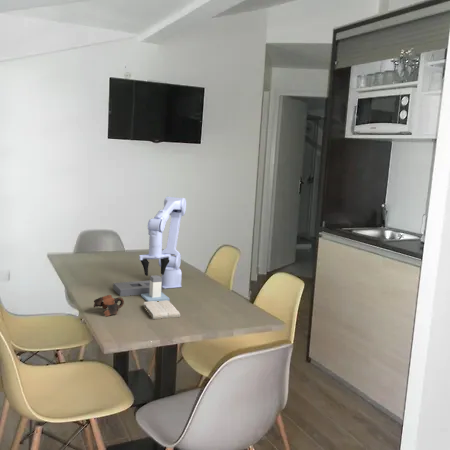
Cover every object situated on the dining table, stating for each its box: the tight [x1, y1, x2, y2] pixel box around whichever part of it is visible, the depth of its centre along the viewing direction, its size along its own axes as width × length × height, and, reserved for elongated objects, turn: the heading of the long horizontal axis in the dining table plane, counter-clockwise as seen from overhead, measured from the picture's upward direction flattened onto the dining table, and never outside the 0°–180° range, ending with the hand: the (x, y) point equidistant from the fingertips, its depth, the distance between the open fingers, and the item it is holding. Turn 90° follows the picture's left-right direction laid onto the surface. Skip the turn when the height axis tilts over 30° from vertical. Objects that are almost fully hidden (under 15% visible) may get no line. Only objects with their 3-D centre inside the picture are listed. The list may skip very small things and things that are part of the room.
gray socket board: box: [112, 279, 164, 297], centre depth 232 cm, size 20×12×3 cm, turn 118°
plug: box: [149, 274, 162, 298], centre depth 222 cm, size 4×4×9 cm
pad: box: [140, 291, 171, 302], centre depth 222 cm, size 10×10×1 cm
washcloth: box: [143, 300, 181, 320], centre depth 205 cm, size 12×18×3 cm, turn 24°
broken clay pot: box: [93, 294, 125, 317], centre depth 200 cm, size 12×10×8 cm
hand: (154, 274), depth 223 cm, fingers open, 7 cm apart
